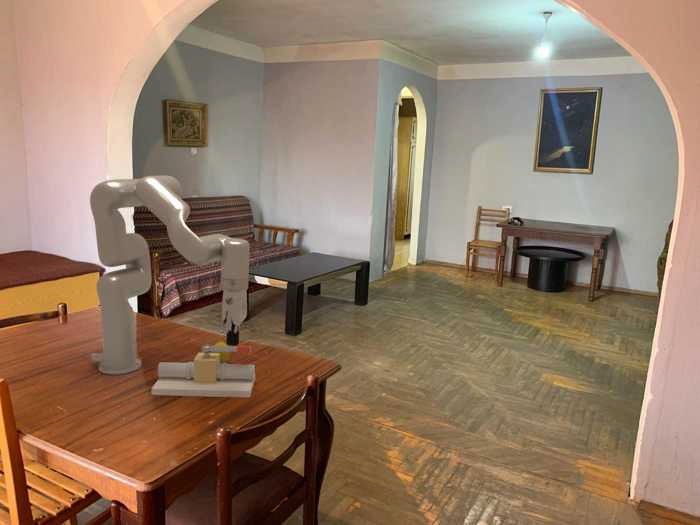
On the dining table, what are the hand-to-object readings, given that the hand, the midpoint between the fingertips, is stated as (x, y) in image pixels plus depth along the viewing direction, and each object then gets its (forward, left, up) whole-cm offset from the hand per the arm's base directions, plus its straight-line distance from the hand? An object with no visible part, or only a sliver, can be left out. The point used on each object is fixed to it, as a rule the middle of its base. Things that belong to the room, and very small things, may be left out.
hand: (232, 344), depth 154 cm
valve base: (-9, +4, -16) cm, 18 cm away
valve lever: (-3, +6, -5) cm, 8 cm away
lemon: (-8, +22, -16) cm, 28 cm away
